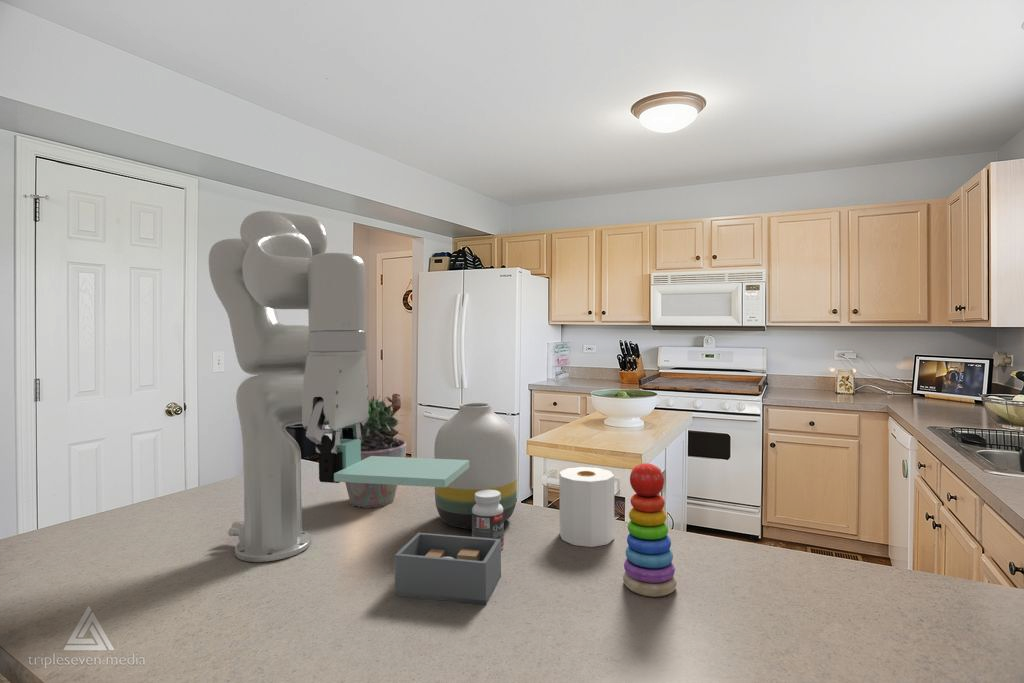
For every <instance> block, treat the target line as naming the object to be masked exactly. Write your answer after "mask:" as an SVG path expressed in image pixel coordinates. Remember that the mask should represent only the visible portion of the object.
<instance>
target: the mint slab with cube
mask: <svg viewBox="0 0 1024 683" xmlns="http://www.w3.org/2000/svg"><path fill="white" fill-rule="evenodd" d="M331 441H332V439H331ZM339 452H342V467H343V470H341V471H338V472H336V473H334V481H335V482H340V483H345V482H353V483H371V484H389V485H397V486H412V487H414V486H415V487H428V488H435V487H444V488H445V487H447V486H448V485H449V484H450V483H451V482H452V481H454V480H455V479H456V478H457V477H458V476H460V475H461V474H462V473H463V472H464V471H466V470H467V469H468V468H469V460H455V459H434V458H427V457H406V456H405V457H384V456H370V457H368V458H366V459H364V460H361V440H360V439H340V446H339Z"/></svg>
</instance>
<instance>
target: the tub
mask: <svg viewBox="0 0 1024 683" xmlns="http://www.w3.org/2000/svg"><path fill="white" fill-rule="evenodd" d="M501 578H502V549H501V539H491V538H479V537H472V536H466V535H465V536H464V535H452V534H442V533H441V534H440V533H429V532H428V533H426V532H417V533H416V534H415V535H414V536H413V537H412V538H411V539H410V540H409V541H408V542H407V543H406V544H405V545H404V546H402V548H401V549H399V550H398V551H397V552H396V553H395V554H394V584H395V585H394V587H395V588H394V591H395V592H394V593H395V594H394V595H395V596H400V597H410V598H418V599H419V598H420V599H427V600H437V601H438V600H439V601H447V602H455V603H465V604H474V605H483V606H487V604H488V602H489V601H490V598H491V597H492V595H493V593H494V591H495V589H496V587H497V585H498V583H499V581H500V579H501Z"/></svg>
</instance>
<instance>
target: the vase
mask: <svg viewBox="0 0 1024 683" xmlns="http://www.w3.org/2000/svg"><path fill="white" fill-rule="evenodd" d="M434 439H435V441H434V451H433V453H434V454H433V455H434V456H433V459H455V460H469V468H468V469H467V470H466V471H464V472H463V473H462V474H461V475H460V476H458V477H457V478H456V479H455V480H454V481H452V482H451V483H450V484H449V485H448V486H447V487H445V488H444V487H434V499H435V500H434V501H435V507H436V510H437V513H438V515H439V517H440V519H441V520H442V521H444V523H446V524H448V525H450V526H452V527H456V528H461V529H470V530H472V508H473V506H474V505H475V504H476V501H475V493H476V492H478V491H481V490H496V491H499V492H500V493H501V500H500V501H499V504H501V505H502V507H503V523H505V522H506V521H507V520H509V519H510V518H511V516H513V513H514V511H515V509H516V505H517V496H518V495H517V494H518V473H517V472H518V463H517V462H518V452H517V450H518V447H517V440H516V435H515V432H514V430H513V428H512V427H511V425H510V424H509V423H508V422H507V421H506V420H504V419H503V418H502V417H501V416H499V415H498V414H496V412H494V411H493V409H492V405H491V404H490V403H487V402H467V403H461V404H460V405H459V409H458V411H457V412H456V413H455V414H454V415H453V416H451V417H450V418H449V419H447V420H446V421H445V422H444V423H443V424H442V425H441V427H440V428H439V430H438V431H437V433H436V436H435V438H434Z"/></svg>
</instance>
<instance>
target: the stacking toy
mask: <svg viewBox="0 0 1024 683" xmlns="http://www.w3.org/2000/svg"><path fill="white" fill-rule="evenodd" d="M629 484H630V487H631V488H632V490H633V491H634V492H635V493H634V494H633V495H632V496H631V498H630V505H631V507H632V508H631V509H630V510H629V512H628V517H629V519H630V521H629V522H628V523H627V530H628V532H629V533H628V535H627V536H626V542H627V546H626V548H625V557H626V558H625V559H624V563H623V568H624V572H623V576H622V580H623V583H624V585H625V586H626V588H627V589H628V590H630V591H632V592H633V593H636V594H638V595H641V596H645V597H654V598H656V597H664V596H666V595H670V594H671V593H673V592H674V591H675V589H676V588H677V579H676V576H675V572H676V570H675V565H674V564H673V558H674V554H673V552H672V549H671V545H672V540H671V538H670V536H669V535H668V533H669V527H668V525H667V523H666V520H667V514H666V511H665V510H664V509H663V508H664V507H665V499H664V497H663V496H662V495H661V494H660V492H661V491H662V490H663V488H664V485H665V478H664V474H663V473H662V471H661V469H660V468H659V467H657V466H656V465H655V464H652V463H647V462H644V463H640V464H637V465H636V466H634V468H633V469H632V471H631V473H630V476H629Z"/></svg>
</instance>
